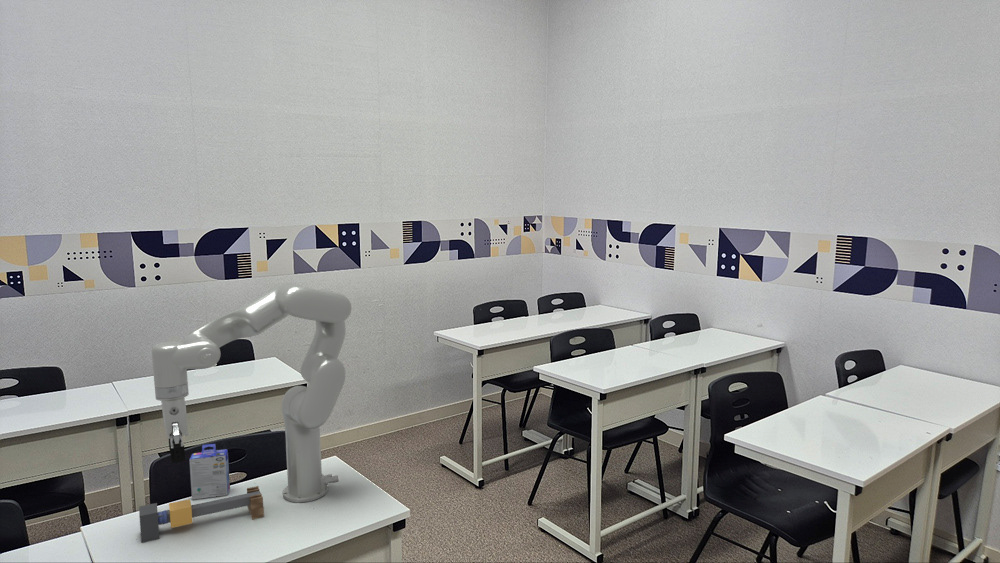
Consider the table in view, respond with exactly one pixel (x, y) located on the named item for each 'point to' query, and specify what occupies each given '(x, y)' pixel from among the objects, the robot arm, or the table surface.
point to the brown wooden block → (256, 504)
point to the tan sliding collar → (180, 513)
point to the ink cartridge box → (209, 473)
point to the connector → (149, 522)
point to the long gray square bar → (215, 506)
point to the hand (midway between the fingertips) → (177, 455)
